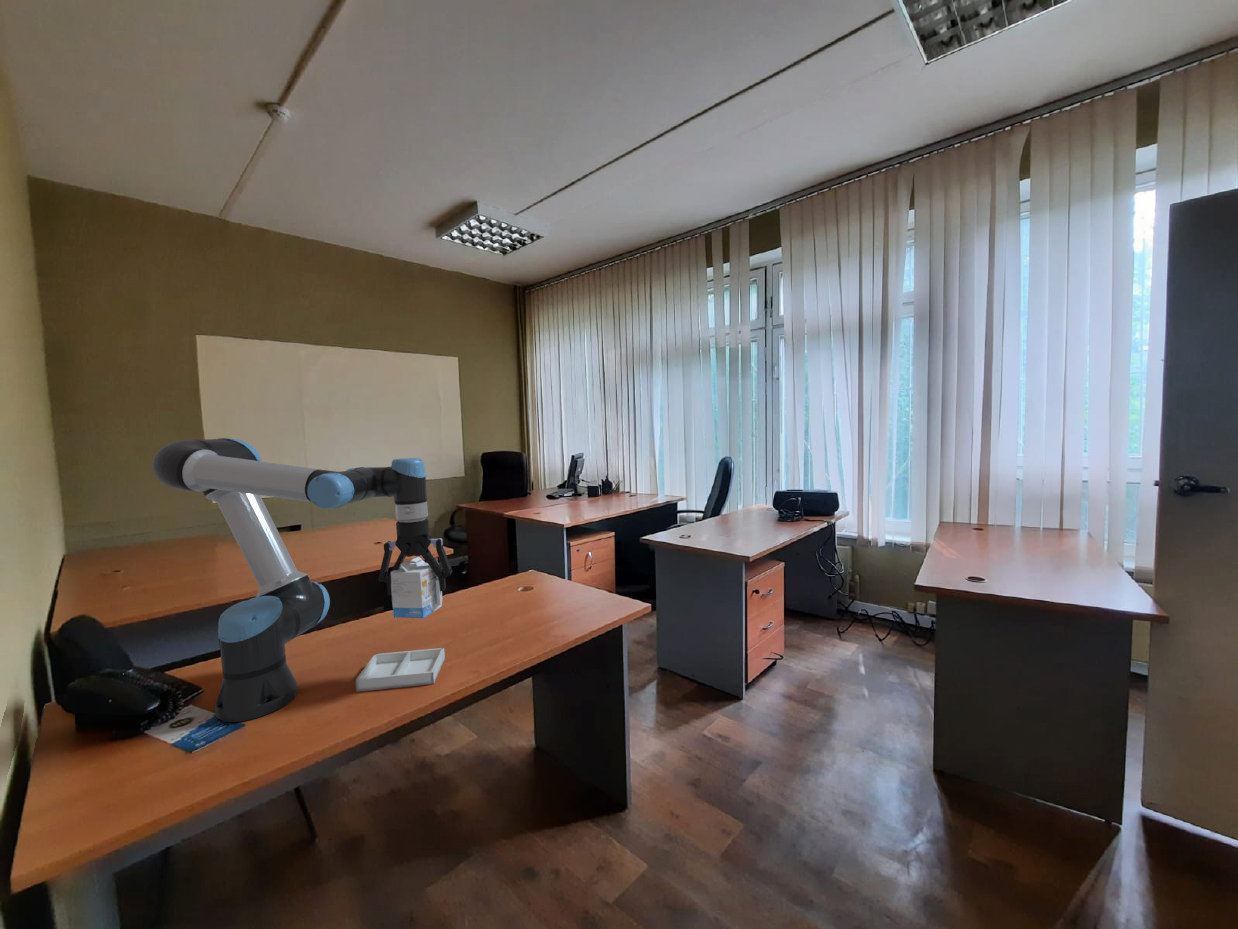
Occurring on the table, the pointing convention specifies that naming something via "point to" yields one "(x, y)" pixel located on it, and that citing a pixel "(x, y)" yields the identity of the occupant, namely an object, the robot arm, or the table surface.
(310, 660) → the table surface
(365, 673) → the caddy
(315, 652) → the table surface
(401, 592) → the ink box
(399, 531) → the robot arm
